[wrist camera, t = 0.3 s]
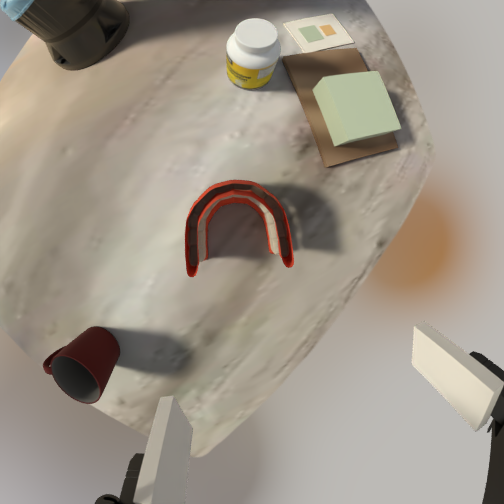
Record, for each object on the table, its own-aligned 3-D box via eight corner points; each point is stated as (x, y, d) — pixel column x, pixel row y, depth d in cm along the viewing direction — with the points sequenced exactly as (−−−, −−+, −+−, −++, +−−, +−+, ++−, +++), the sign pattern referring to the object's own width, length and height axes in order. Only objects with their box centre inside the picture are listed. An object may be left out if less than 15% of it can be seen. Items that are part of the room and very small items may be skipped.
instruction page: (283, 23, 31) (283, 22, 31) (332, 14, 31) (332, 13, 31) (305, 54, 33) (305, 53, 32) (353, 42, 32) (354, 42, 32)
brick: (312, 90, 33) (322, 77, 28) (362, 82, 33) (377, 70, 28) (334, 146, 35) (348, 140, 30) (383, 134, 35) (401, 128, 30)
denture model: (277, 179, 37) (289, 174, 29) (282, 252, 39) (295, 266, 31) (186, 187, 36) (175, 185, 28) (194, 261, 38) (186, 277, 30)
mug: (74, 360, 40) (47, 392, 29) (62, 318, 38) (29, 347, 28) (128, 368, 41) (107, 408, 30) (118, 324, 39) (91, 360, 28)
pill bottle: (221, 61, 32) (218, 18, 21) (263, 52, 32) (274, 8, 21) (234, 96, 34) (236, 60, 22) (277, 86, 34) (294, 48, 22)
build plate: (281, 60, 33) (283, 56, 32) (353, 51, 33) (356, 48, 32) (325, 167, 37) (327, 166, 36) (394, 148, 37) (398, 147, 36)
